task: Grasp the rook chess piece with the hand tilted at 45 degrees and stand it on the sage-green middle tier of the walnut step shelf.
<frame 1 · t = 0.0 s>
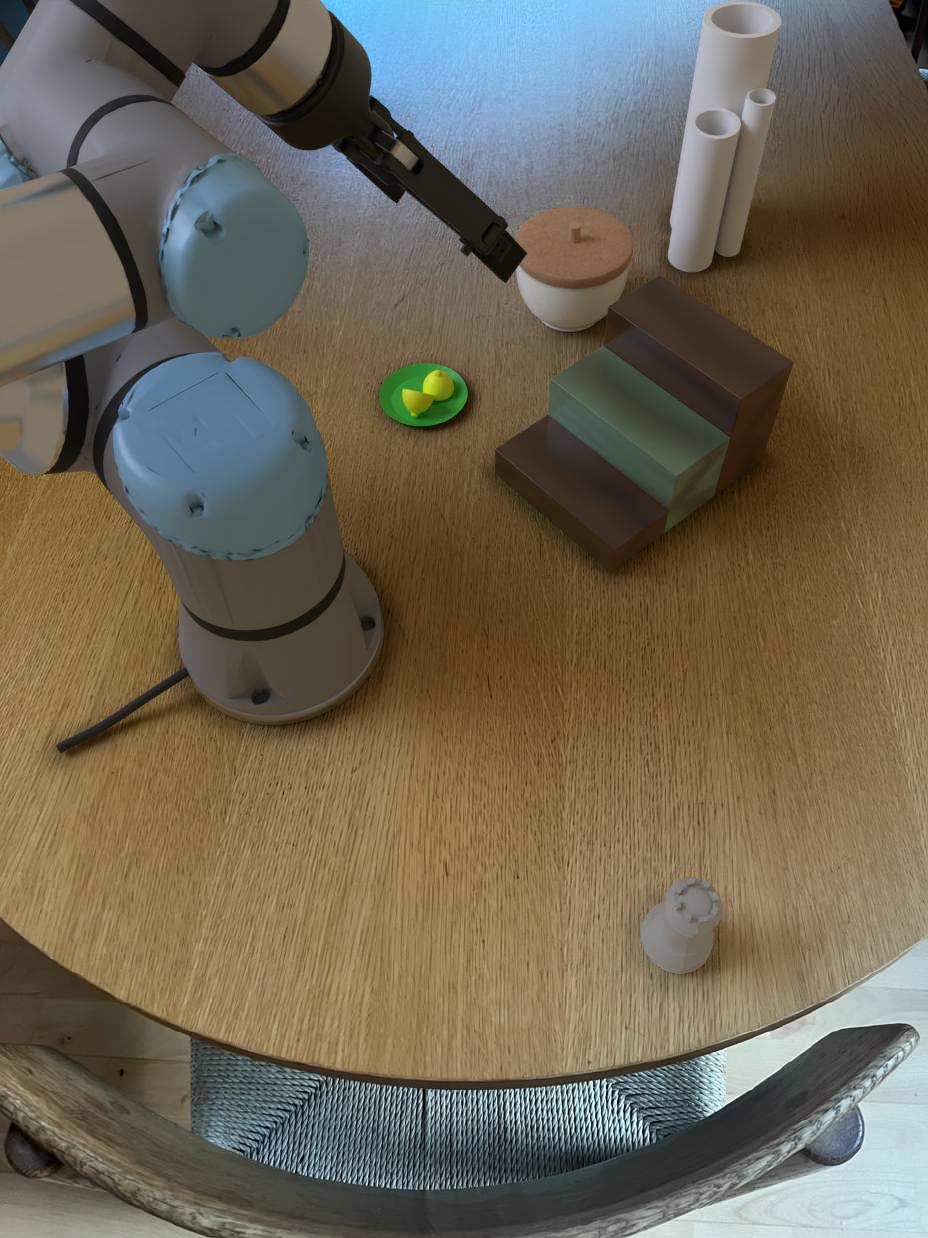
hand: (456, 225, 78), 15 cm above the table, tool tilted 35°, fingers open, 13 cm apart
step shelf: (628, 467, 84), on the table
green plate with lemons: (423, 400, 89), on the table
rook chess piece: (674, 940, 62), on the table
vase: (703, 239, 101), on the table
trinket box: (568, 312, 95), on the table
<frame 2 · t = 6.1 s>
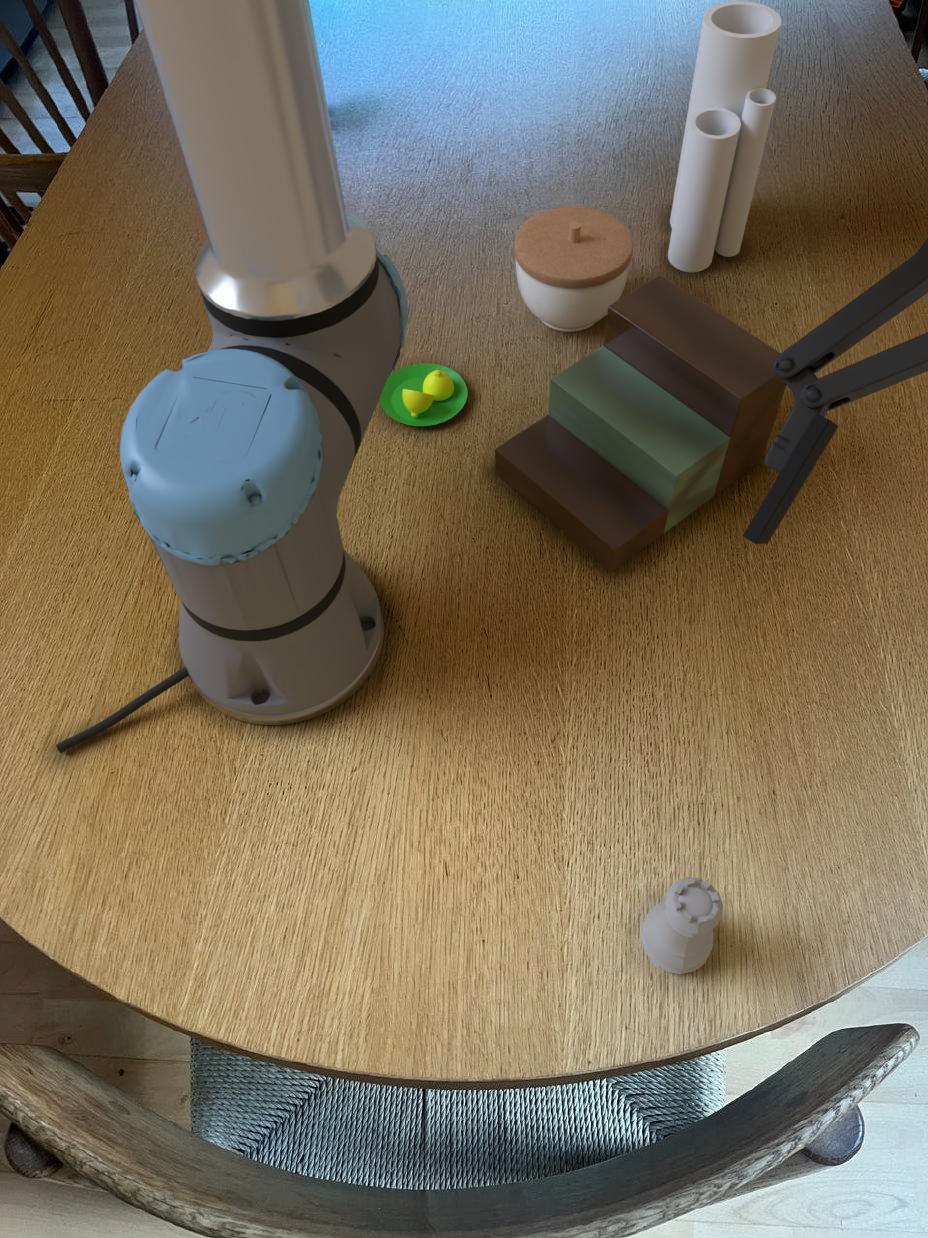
hand: (882, 613, 46), 25 cm above the table, tool tilted 45°, fingers open, 13 cm apart
nothing on the table moved.
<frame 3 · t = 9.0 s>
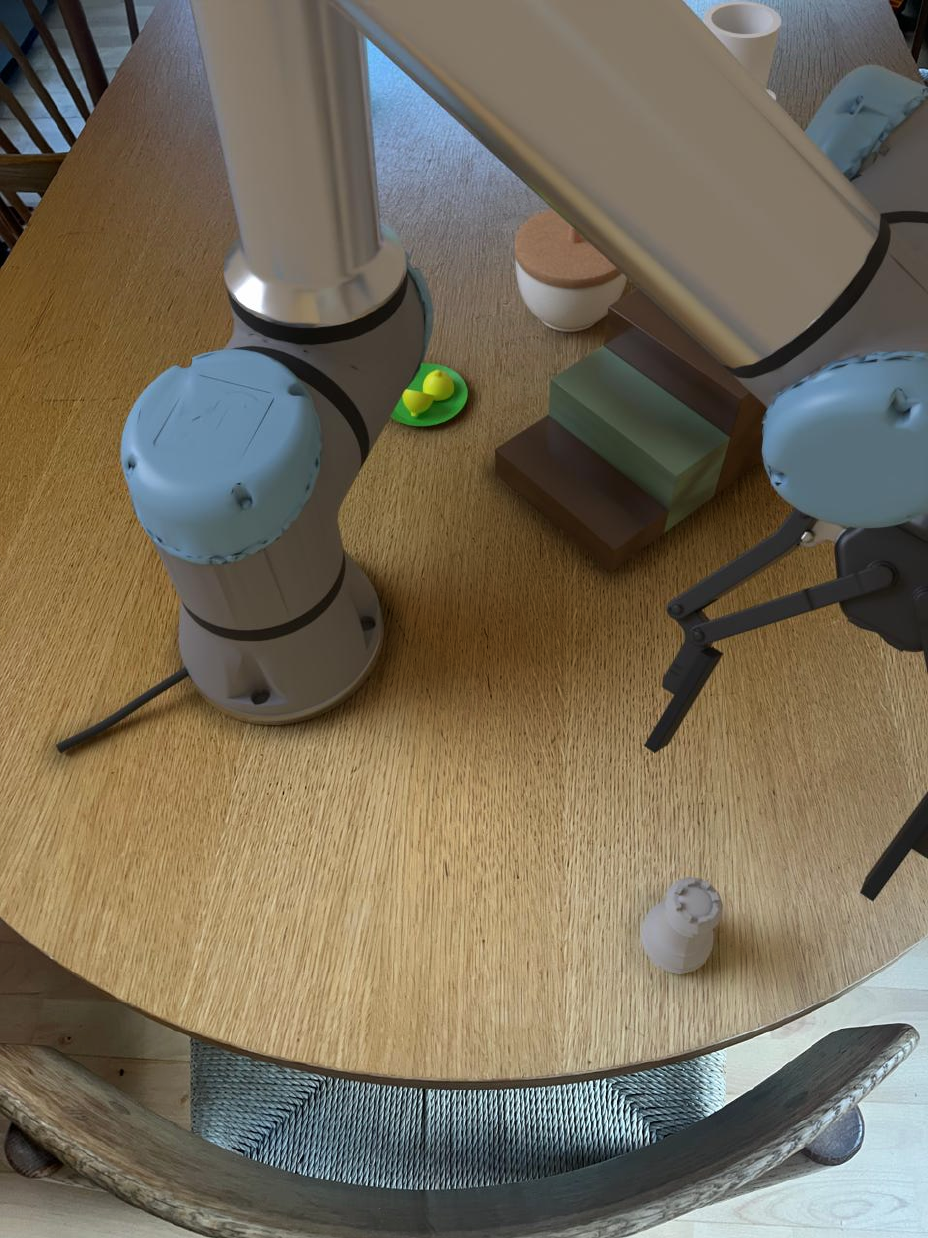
hand: (757, 814, 55), 10 cm above the table, tool tilted 45°, fingers open, 13 cm apart
nothing on the table moved.
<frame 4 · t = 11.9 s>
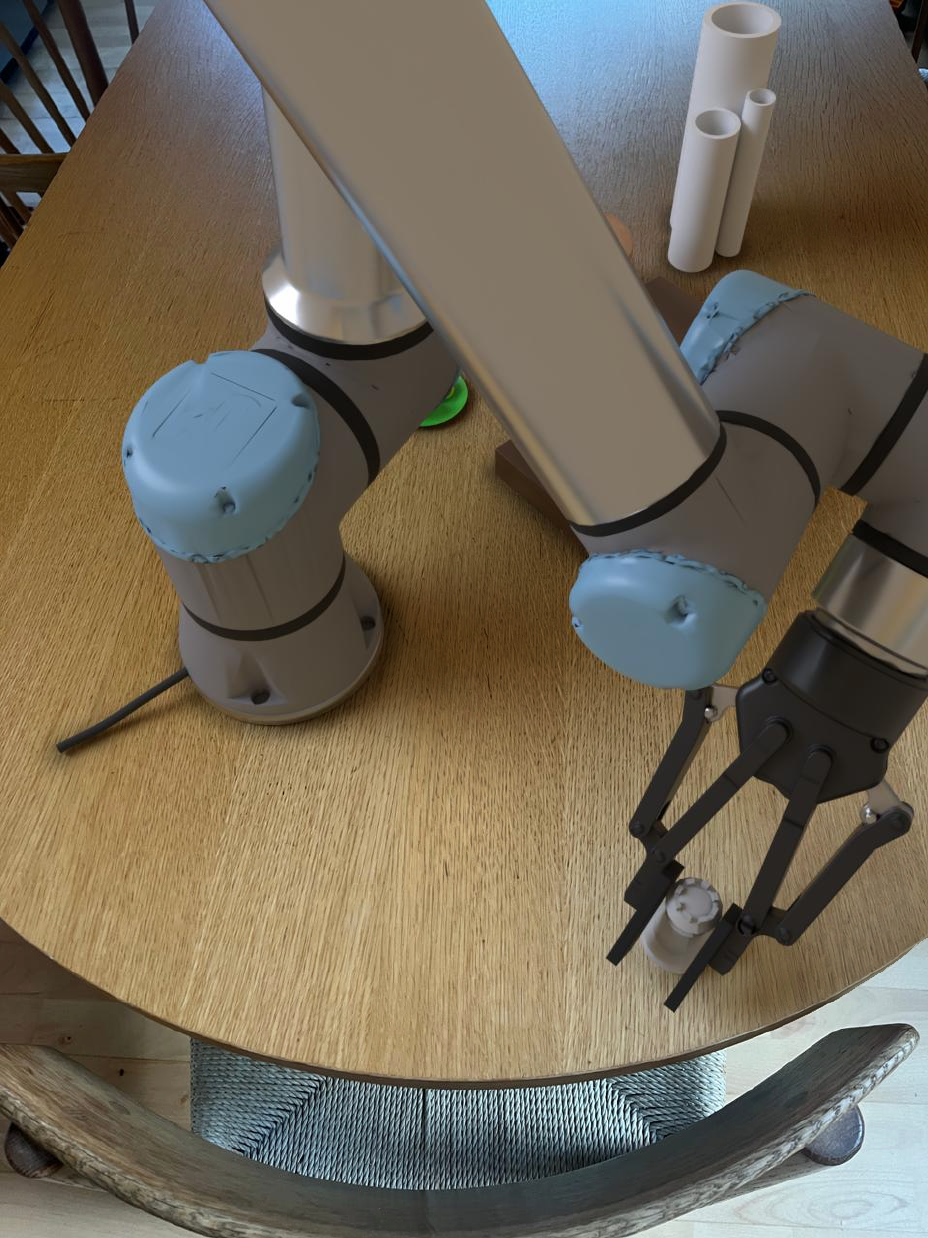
hand: (647, 975, 58), 3 cm above the table, tool tilted 45°, fingers closed on rook chess piece, 3 cm apart
rook chess piece: (674, 940, 62), on the table, touching gripper
everything else where it was.
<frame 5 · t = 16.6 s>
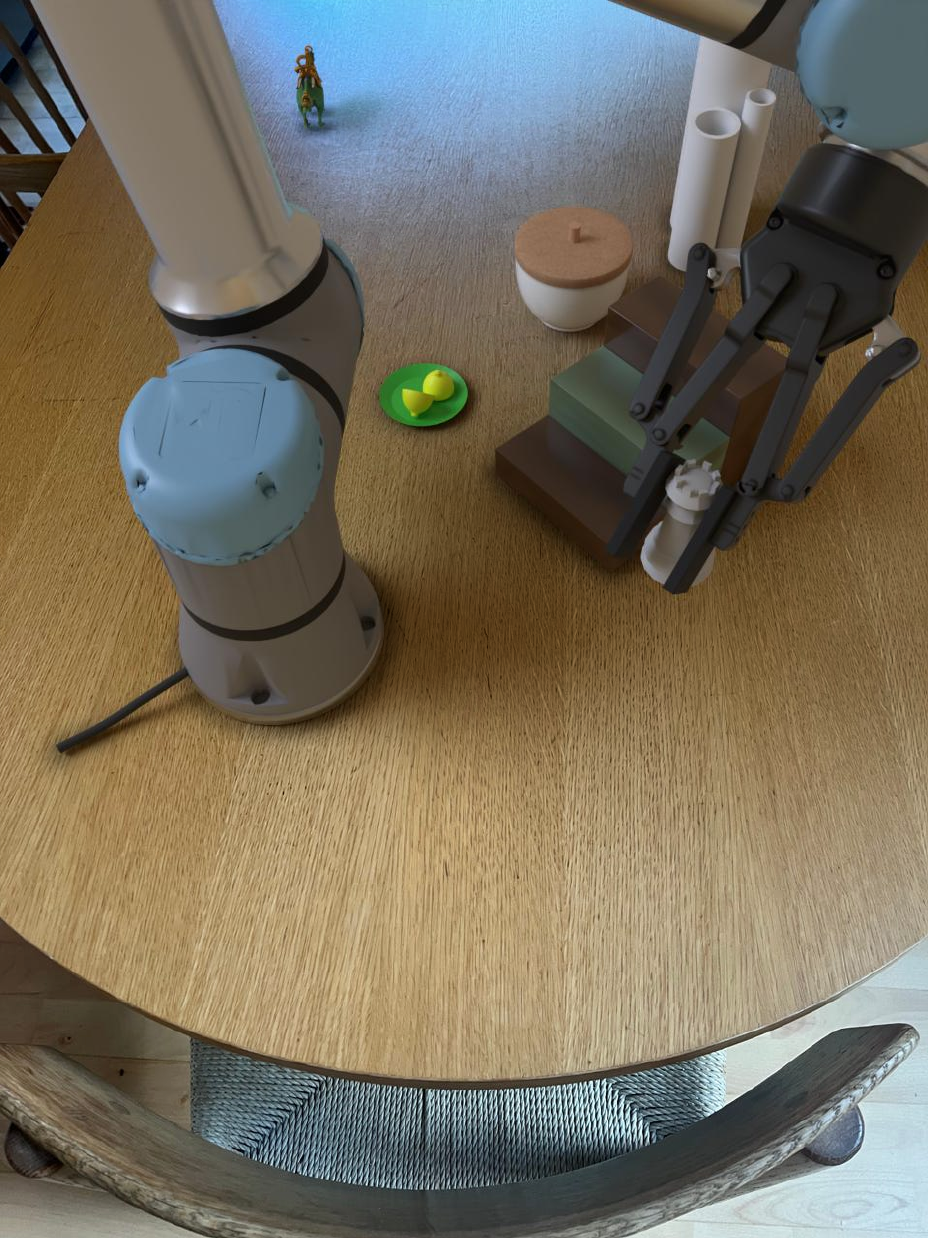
hand: (646, 571, 57), 17 cm above the table, tool tilted 45°, fingers closed on rook chess piece, 3 cm apart
rook chess piece: (675, 564, 61), point 14 cm above the table, touching gripper
everything else where it was.
when the fingers open (10 cm above the table, at t = 21.6 s): rook chess piece stays where it is, resting on step shelf.
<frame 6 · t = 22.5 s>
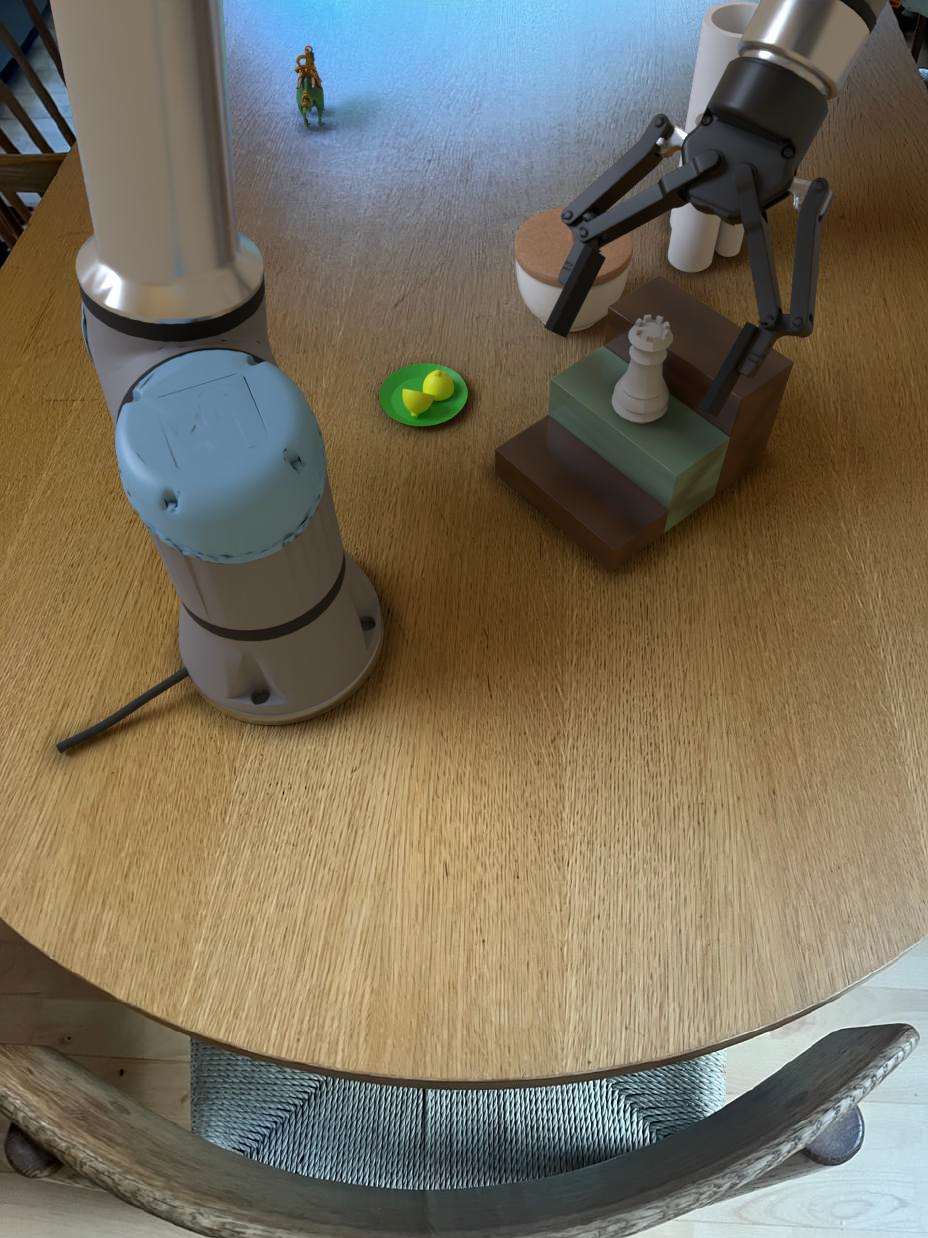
hand: (628, 372, 72), 12 cm above the table, tool tilted 45°, fingers open, 13 cm apart
rook chess piece: (638, 408, 78), point 7 cm above the table, touching step shelf
everything else where it was.
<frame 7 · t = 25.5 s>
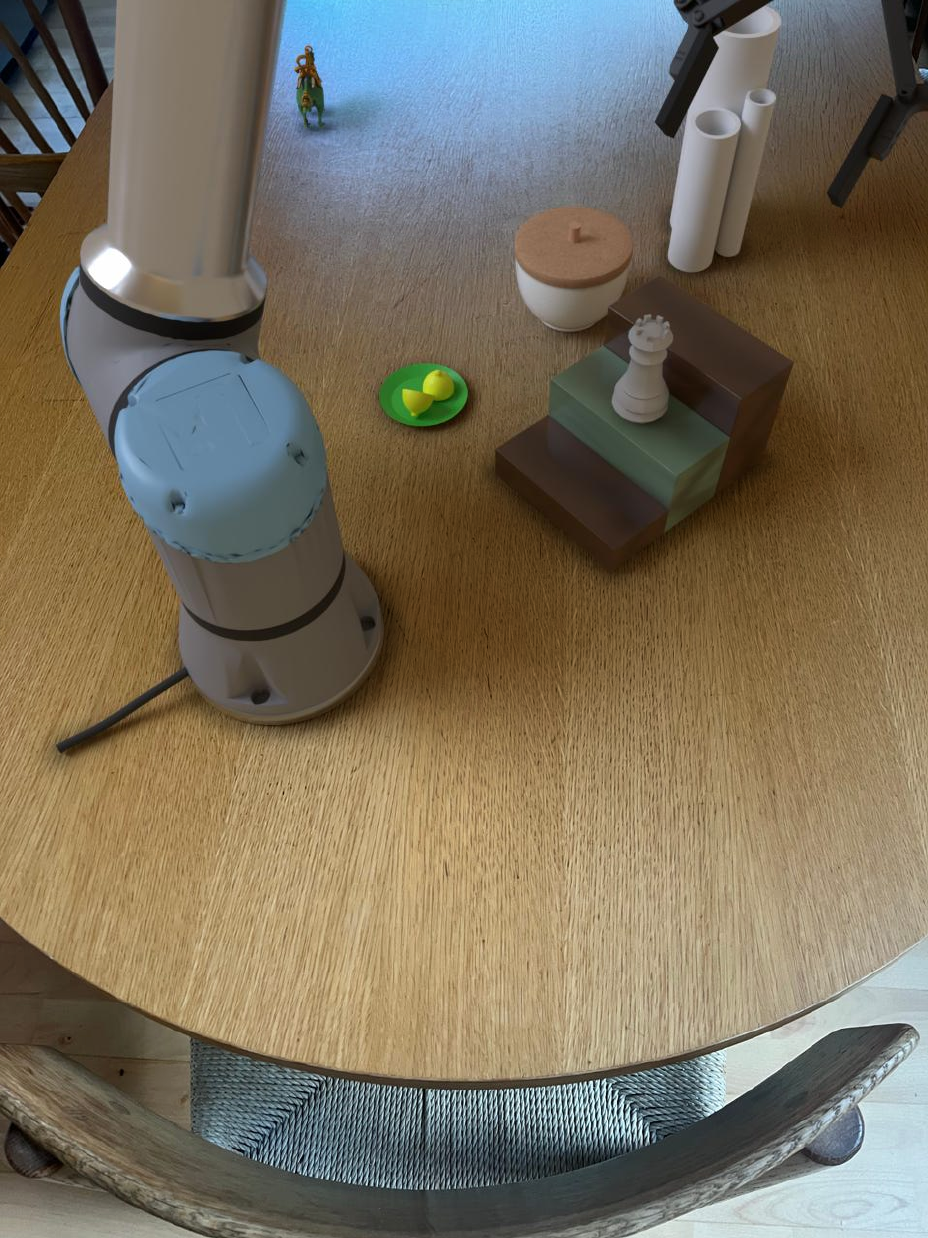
hand: (745, 164, 69), 23 cm above the table, tool tilted 45°, fingers open, 13 cm apart
nothing on the table moved.
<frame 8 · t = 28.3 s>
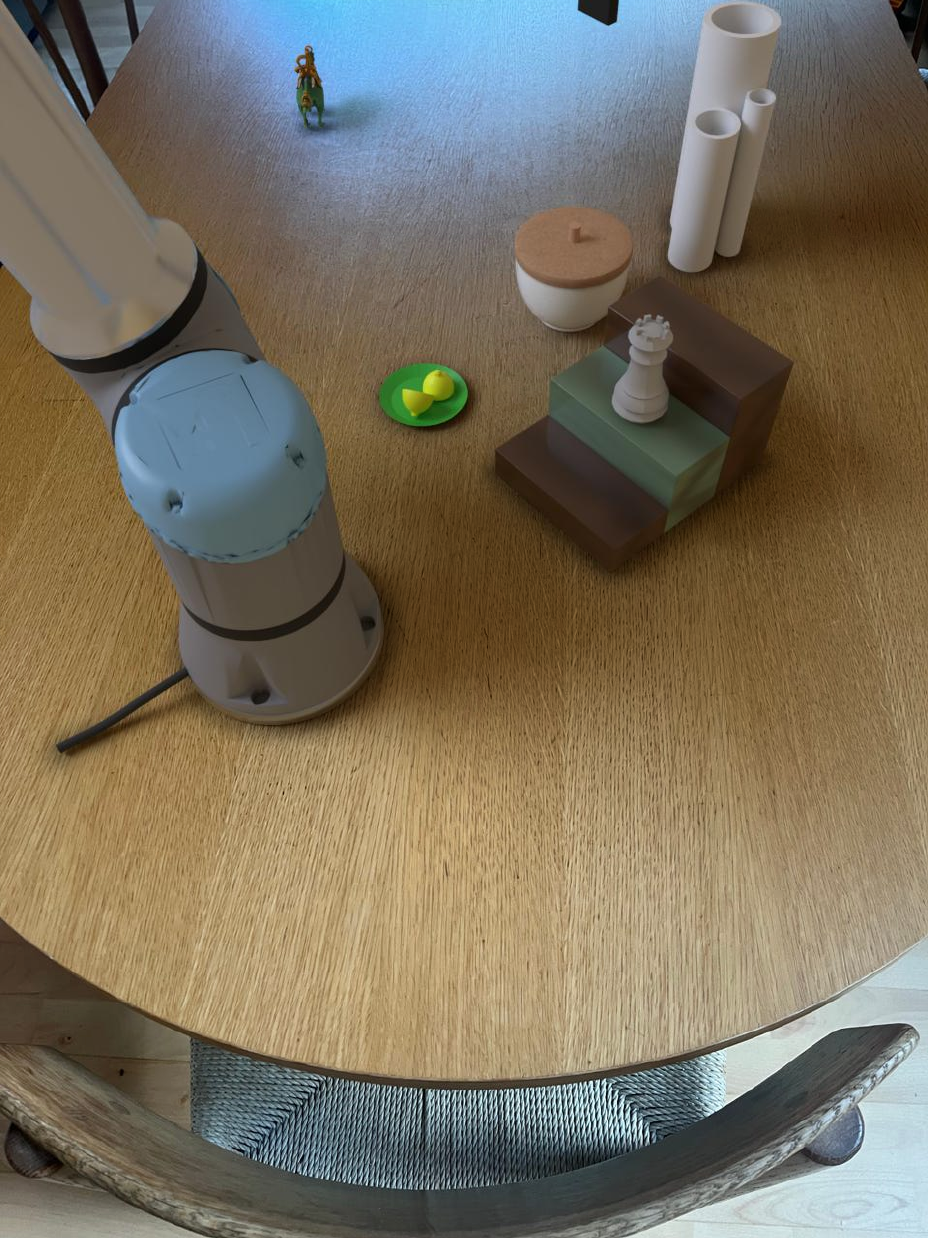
nothing on the table moved.
at the end: rook chess piece inside the target area on the step shelf (0.1 cm from its centre), point 6.8 cm above the step shelf's base; rook chess piece tilted 0°; the gripper is holding nothing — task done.
